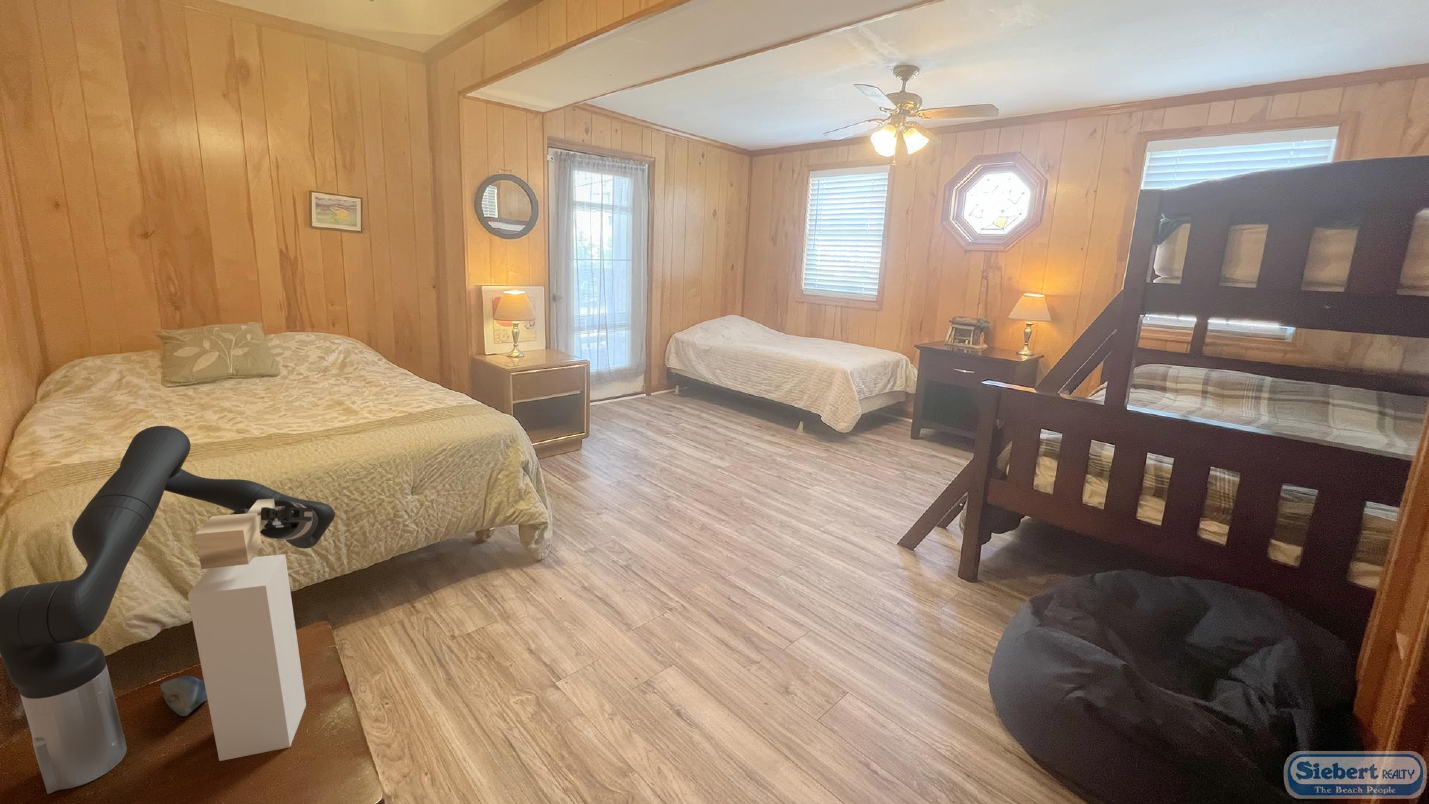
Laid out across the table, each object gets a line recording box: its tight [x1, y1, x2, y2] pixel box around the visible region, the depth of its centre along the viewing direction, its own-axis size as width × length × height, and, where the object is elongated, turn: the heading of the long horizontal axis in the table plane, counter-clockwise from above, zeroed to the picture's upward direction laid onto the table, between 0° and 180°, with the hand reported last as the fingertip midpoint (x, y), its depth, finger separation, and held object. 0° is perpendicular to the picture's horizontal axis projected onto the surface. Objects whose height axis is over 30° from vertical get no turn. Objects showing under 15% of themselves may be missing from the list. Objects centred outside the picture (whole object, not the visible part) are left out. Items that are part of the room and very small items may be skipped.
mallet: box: [194, 499, 275, 570], centre depth 100 cm, size 20×6×6 cm, turn 21°
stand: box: [187, 553, 307, 762], centre depth 101 cm, size 10×10×32 cm
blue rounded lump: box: [159, 675, 208, 717], centre depth 109 cm, size 6×9×10 cm
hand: (253, 514), depth 103 cm, fingers closed on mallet, 2 cm apart
